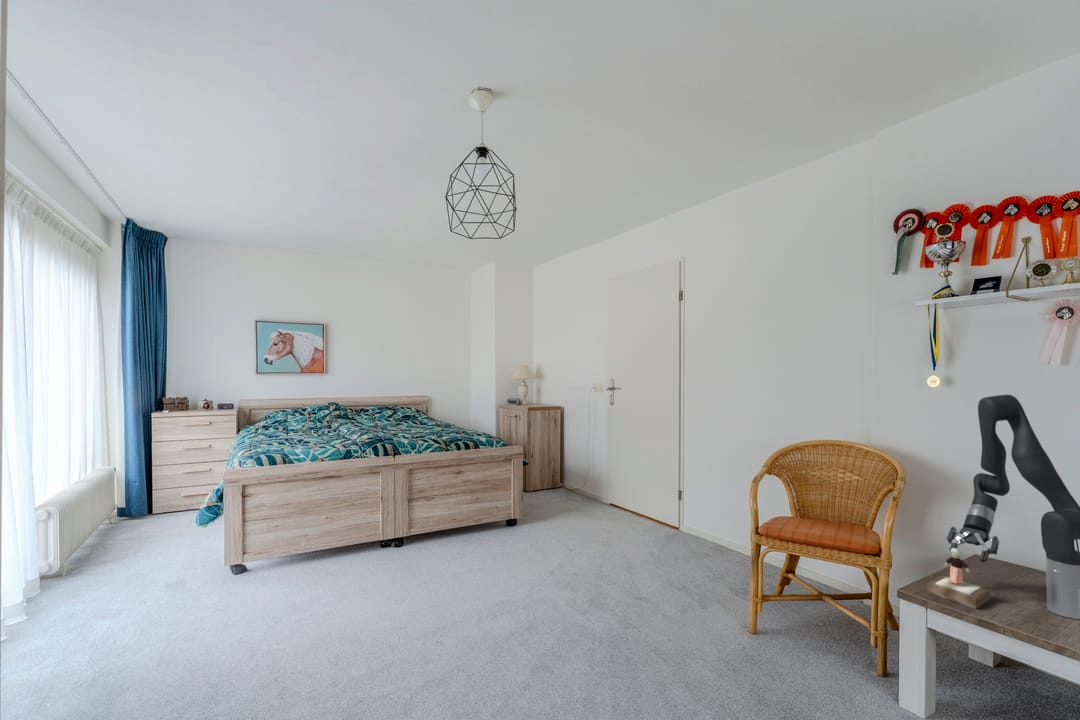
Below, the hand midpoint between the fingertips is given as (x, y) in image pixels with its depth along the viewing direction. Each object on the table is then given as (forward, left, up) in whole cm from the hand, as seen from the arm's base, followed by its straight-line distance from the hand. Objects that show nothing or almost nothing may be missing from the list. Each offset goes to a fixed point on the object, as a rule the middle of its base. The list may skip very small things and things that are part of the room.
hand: (967, 557), depth 186 cm
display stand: (0, +8, -12) cm, 14 cm away
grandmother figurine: (0, +8, -8) cm, 11 cm away
